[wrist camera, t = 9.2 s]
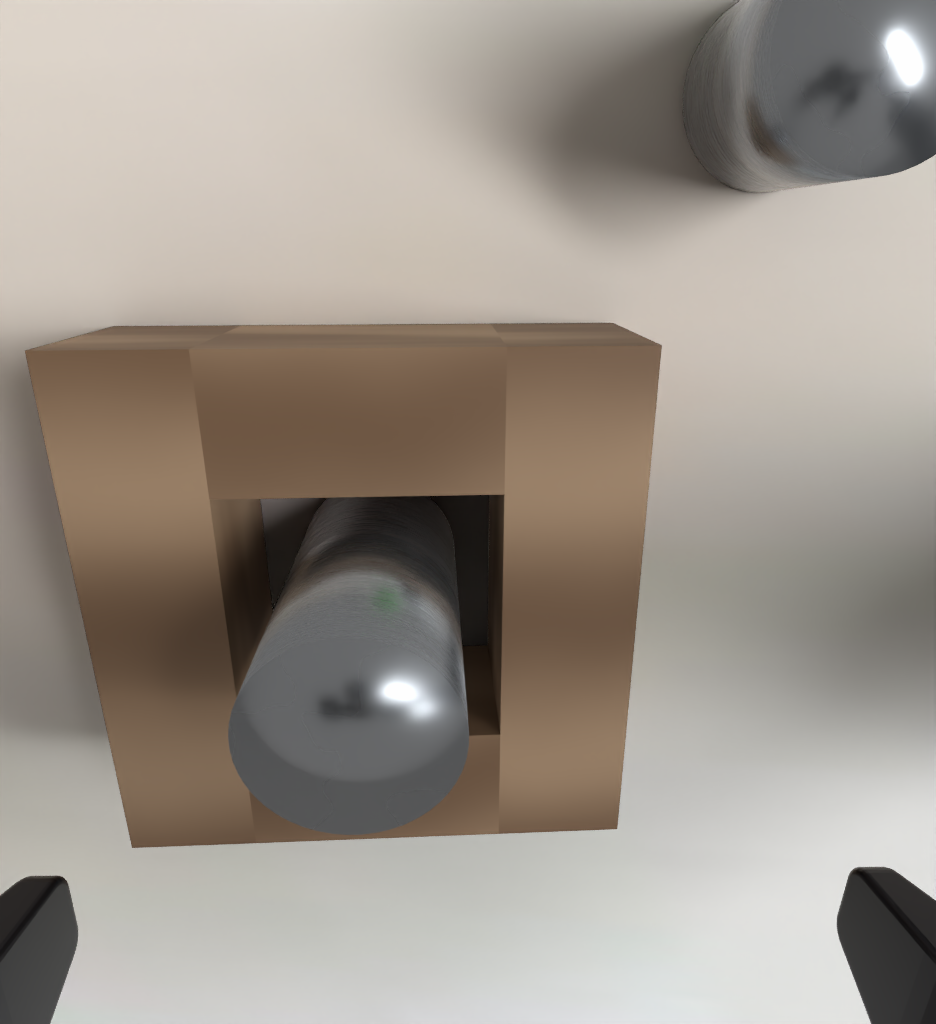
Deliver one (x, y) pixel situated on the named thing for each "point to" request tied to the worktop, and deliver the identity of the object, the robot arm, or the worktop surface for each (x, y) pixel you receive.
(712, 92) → the short pin
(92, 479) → the hole block
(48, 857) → the worktop surface
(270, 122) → the worktop surface
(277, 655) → the tall pin
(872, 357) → the worktop surface
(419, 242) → the worktop surface
